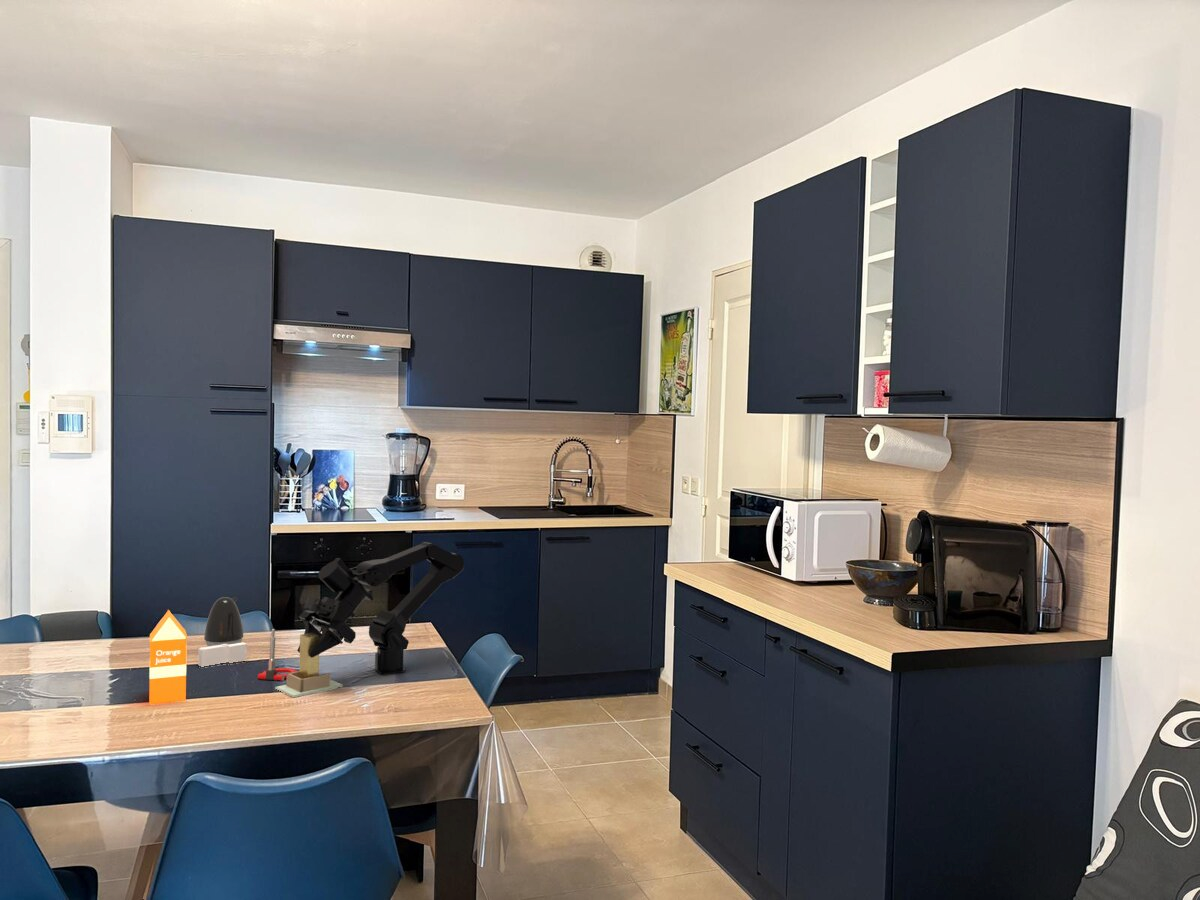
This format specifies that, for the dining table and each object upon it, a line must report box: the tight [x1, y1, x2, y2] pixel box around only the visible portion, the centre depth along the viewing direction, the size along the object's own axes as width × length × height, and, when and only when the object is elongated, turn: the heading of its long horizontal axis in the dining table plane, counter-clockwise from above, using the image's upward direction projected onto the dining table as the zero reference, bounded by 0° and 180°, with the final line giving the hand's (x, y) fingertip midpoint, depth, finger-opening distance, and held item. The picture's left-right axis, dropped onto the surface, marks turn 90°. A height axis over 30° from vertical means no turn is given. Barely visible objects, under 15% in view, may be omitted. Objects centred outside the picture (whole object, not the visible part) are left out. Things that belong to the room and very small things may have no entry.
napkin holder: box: [197, 641, 248, 667], centre depth 231 cm, size 15×11×6 cm
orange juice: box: [148, 609, 188, 706], centre depth 202 cm, size 8×9×20 cm
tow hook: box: [257, 628, 297, 682], centre depth 222 cm, size 8×13×9 cm
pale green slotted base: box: [274, 670, 343, 698], centre depth 212 cm, size 13×9×4 cm
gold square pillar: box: [299, 633, 320, 679], centre depth 212 cm, size 5×4×12 cm
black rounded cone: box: [203, 596, 244, 647], centre depth 245 cm, size 10×10×15 cm
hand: (304, 654), depth 211 cm, fingers open, 5 cm apart
